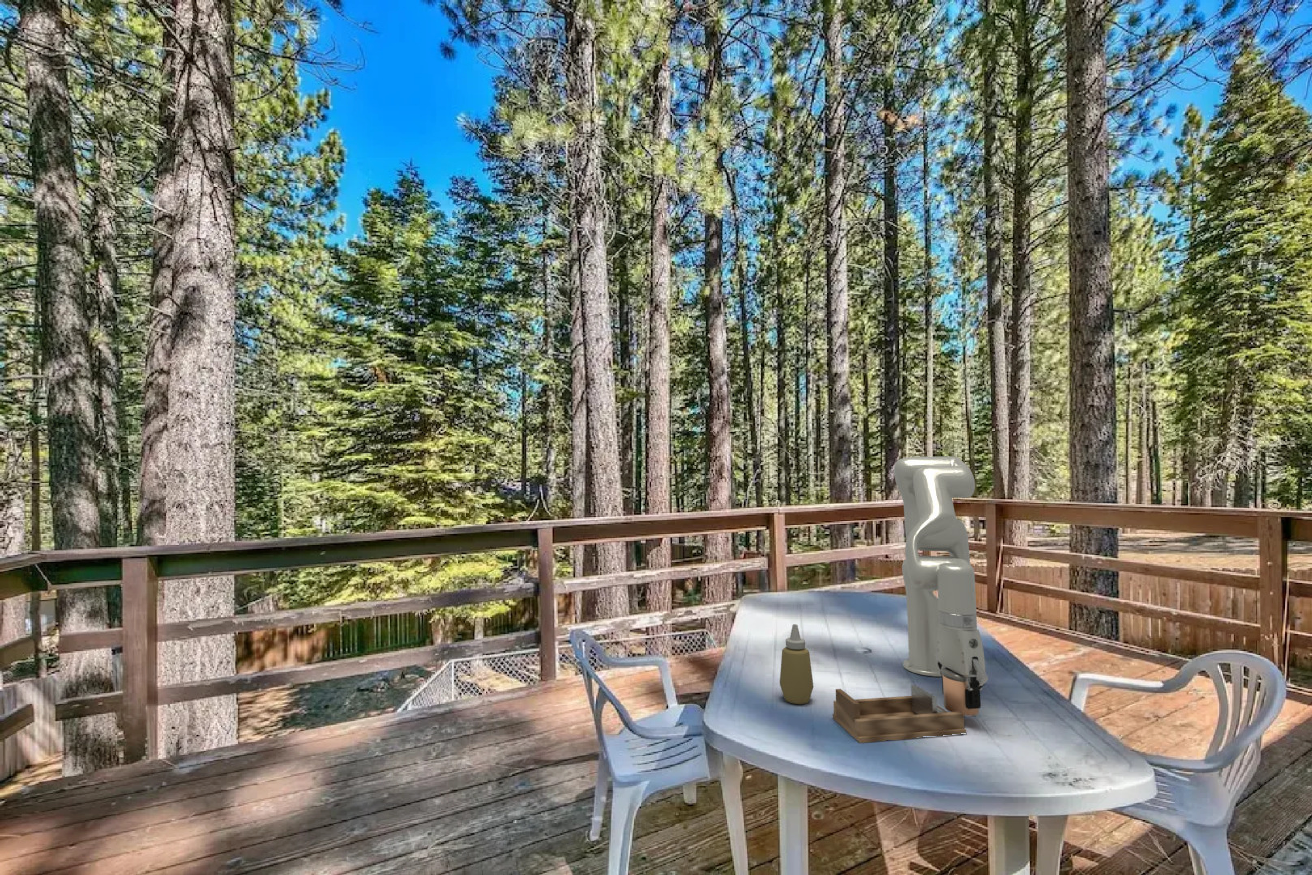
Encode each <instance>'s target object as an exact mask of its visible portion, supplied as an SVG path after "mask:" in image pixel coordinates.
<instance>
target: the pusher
mask: <svg viewBox="0 0 1312 875" xmlns="http://www.w3.org/2000/svg"><path fill="white" fill-rule="evenodd" d="M910 692H911V695H910V696H912V711H913V712H915V713H916V714H918V715H919V714H933V713H946V712H945V711H946V710H945V711H943V710H941V709H940V708H941V707H940V708H938V707H937V706H938V700H937V697H936V696H935V695H933V694H932V695H931V693H929V692H928V691H926V690H924V689H923V688H921V687H919V686H918V685H917V684H911V685H910ZM934 696H935V697H934Z"/></svg>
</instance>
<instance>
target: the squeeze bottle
mask: <svg viewBox="0 0 1312 875" xmlns="http://www.w3.org/2000/svg"><path fill="white" fill-rule="evenodd" d="M798 625H799V624H796V623H795V624H792V626H791V632H790V636H789V637H787V638H785V647H784V648H783V649H782V650H781V660H780V673H779V675H780V676H779V685H780V689H781V692H782V695H783V697H784V700H785V701H786V702H788V703H789V704H793V705H804V704H808V703H809V702H810V700H811V696H812V693H813V689H814V680H813V671H812V665H811V656H810V654H811V653H810V650H809V649H808V648H806V641H805V639H804V638H802V637H801V635H800V630H799V626H798Z"/></svg>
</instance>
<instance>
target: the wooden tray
mask: <svg viewBox="0 0 1312 875" xmlns="http://www.w3.org/2000/svg"><path fill="white" fill-rule="evenodd" d="M930 694H931V693H930ZM931 695H933V694H931ZM933 696H934V697H936V696H935V695H933ZM937 707H938V708H940V709H941V710H943V711H945V712H946V713H933V714H919V715H918V714H916V713H915V712H913V711H912V696H911V695H900V696H890V697H874V698H873V697H872V698H857V699H854V698H853V697H851V695H849V694H848V693H847V692H845V691H844V690H843V689H842V688H836V689H835V700H833V713H832V719H833V720H834V721H835V722H836V723H838V725H840V726H841V727H842V728H843V729H844V730H845V731H846V732H847V733H848V734H849V735H850V736H852V737H853V738H854V739H855V740H856V741H857V742H858V743H859V744H865V743H876V741H877V742H878V741H880V742H887V741H886V740H893V741H902V740H904V739H905V740H913V739H912V738H917V737H923V736H943V735H952V734H961V733H966V734H967V729H966V728H965V715H964V714H963V713H961V712H950V711H948V710H946V709H945V708H942V707H940V706H939V705H937ZM878 743H879V742H878Z"/></svg>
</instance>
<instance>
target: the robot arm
mask: <svg viewBox="0 0 1312 875" xmlns="http://www.w3.org/2000/svg"><path fill="white" fill-rule="evenodd" d="M893 467H894V469H893V474H894V480H895V484H896V487H897V490H898V491H899V494H900V497H901V499H902V504H903V514H904V530H905V538H906V539H905V540H906V541H905V545H904V546H905V547H904V551H905V553H904V554H905V559H904V560H903V562H902V565H901V572H902V577H903V578H902V579H903V583H904V588H905V597H906V610H907V611H906V614H907V637H908V638H907V639H908V640H907V641H908V642H907V643H908V658H907V659H905V660H903V662H902V663H903V664H902V665H903V668H904V669H905V670H906V671H909V672H911V673H914V674H918V675H922V676H927V677H928V676H929V677H941V687H942V688H941V690H942V694H943V695H944V692H943V668H948V669H950V670H952V671H954V672H956V673H958V674H960V675H962V676H963V677H964V680H965V683H966V686H967V689H965V704H966V708H968V709H977V708H979V709H981V706H982V704H981V703H982V702H981V690H983V687H985V684H986V683H987V681H988V680H989V676H988V675H987V673H986V660H985V654H984V645H983V641H982V637H981V636H982V635H981V632H980V629H978V620H977V599H976V598H977V597H976V578H975V577H976V576H975V570H974V567H973V566H971V559H970V558H971V557H970V547H969V546H970V545H969V536H968V531H967V530H968V529H967V528H966V526H965V523H964V521H962V520H961V519H959V518H957V516H956V512H955V508H954V502H953V498H955V499H965V498H966V499H967V498H971V497H972V496H973V495H974V492H975V489H976V482H975V477H974V474H973V472H972V470H971V469H970V468H969V466H968V465H967V464H966V463H965V462H964V461H962V460H961V459H960V458H959V457H957V456H909V457H903V458H900V459H898V460H897V461H896V462H895V464H894V466H893ZM919 551H923V552H924V551H925V552H946V553H948V554H949V556H948V555H947V556H943V555H942V556H941V555H940V556H939V555H920V554H919ZM936 591H937V596H936V595H935V594H934V592H936ZM969 672H972V674H969ZM972 677H974V681H973V682H972V683H971V681H970V678H972Z"/></svg>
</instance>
